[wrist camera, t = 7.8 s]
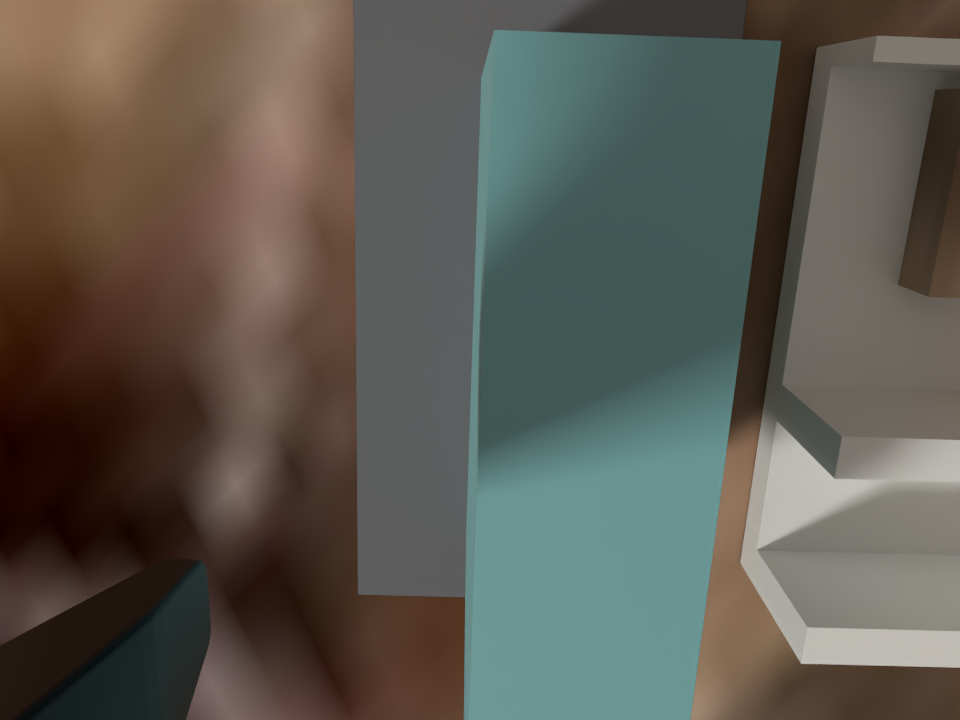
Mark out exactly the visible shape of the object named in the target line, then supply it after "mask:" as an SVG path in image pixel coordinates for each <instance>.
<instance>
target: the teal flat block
mask: <svg viewBox="0 0 960 720" xmlns="http://www.w3.org/2000/svg"><path fill="white" fill-rule="evenodd" d="M780 47H781V41H771V40H745V39H719V38H693V37H667V36H641V35H615V34H589V33H563V32H537V31H511V30H494V33H493V36H492V40H491V44H490V47H489V51H488V55H487V58H486V62H485V66H484V69H483V73H482V77H481V102H480V132H479V162H478V192H477V223H476V253H475V283H474V313H473V343H472V373H471V403H470V433H469V463H468V493H467V523H466V586H465V671H464V720H690V719H691V712H692V704H693V697H694V689H695V682H696V674H697V667H698V659H699V652H700V644H701V637H702V629H703V622H704V615H705V607H706V600H707V592H708V585H709V577H710V570H711V562H712V555H713V547H714V540H715V532H716V525H717V518H718V510H719V503H720V495H721V488H722V480H723V473H724V465H725V458H726V450H727V443H728V435H729V428H730V421H731V413H732V406H733V398H734V391H735V383H736V376H737V368H738V361H739V353H740V346H741V338H742V331H743V324H744V316H745V309H746V301H747V294H748V286H749V279H750V271H751V264H752V256H753V249H754V241H755V234H756V227H757V219H758V212H759V204H760V197H761V189H762V182H763V174H764V167H765V159H766V152H767V144H768V137H769V130H770V122H771V115H772V107H773V100H774V92H775V85H776V77H777V70H778V62H779V55H780Z"/></svg>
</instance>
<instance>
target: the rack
mask: <svg viewBox="0 0 960 720" xmlns="http://www.w3.org/2000/svg"><path fill="white" fill-rule="evenodd" d="M959 88H960V39H946V38H922V37H898V36H873V37H868V38H862V39H857V40H852V41H847V42H842V43H837V44H832V45H827V46H821V47H817V50H816V57H815V63H814V70H813V77H812V83H811V90H810V97H809V104H808V110H807V117H806V124H805V131H804V137H803V144H802V151H801V157H800V164H799V171H798V178H797V184H796V191H795V198H794V205H793V211H792V218H791V225H790V232H789V238H788V245H787V252H786V258H785V265H784V272H783V279H782V285H781V292H780V299H779V306H778V312H777V319H776V326H775V332H774V339H773V346H772V353H771V359H770V366H769V373H768V380H767V386H766V393H765V400H764V407H763V413H762V420H761V427H760V433H759V440H758V447H757V454H756V460H755V467H754V474H753V481H752V487H751V494H750V501H749V508H748V514H747V521H746V528H745V534H744V541H743V548H742V555H741V561H740V563H741V565H742V566H743V568H744V570H745V571H746V573H747V575H748V576H749V578H750V580H751V581H752V583H753V585H754V586H755V588H756V590H757V591H758V593H759V595H760V596H761V598H762V600H763V601H764V603H765V605H766V606H767V608H768V610H769V611H770V613H771V615H772V616H773V618H774V620H775V621H776V623H777V625H778V626H779V628H780V630H781V631H782V633H783V635H784V636H785V638H786V639H787V641H788V643H789V644H790V646H791V648H792V649H793V651H794V653H795V654H796V656H797V658H798V659H799V661H800V663H801V664H834V665H875V666H915V667H955V668H960V298H942V297H927V296H925V295H922V294H920V293H917V292H915V291H912V290H910V289H907V288H905V287H902V286H900V285H898V282H899V276H900V271H901V266H902V261H903V255H904V250H905V245H906V240H907V235H908V229H909V224H910V219H911V214H912V208H913V203H914V198H915V193H916V187H917V182H918V177H919V172H920V167H921V161H922V156H923V151H924V146H925V140H926V135H927V130H928V125H929V119H930V114H931V109H932V104H933V99H934V93H935V90H941V89H959Z"/></svg>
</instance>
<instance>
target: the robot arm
mask: <svg viewBox="0 0 960 720" xmlns="http://www.w3.org/2000/svg"><path fill="white" fill-rule="evenodd" d="M210 630H211V622H210V608H209V594H208V579H207V570H206V567H205V564H204V563H203V562H202V561H201V560H199V559H184V558H167V559H163V560H161V561H159V562H157V563H155V564H153V565H151V566H150V567H148V568H146V569H144V570H142V571H140V572H138V573H136V574H134V575H133V576H131V577H129V578H127V579H125V580H123V581H121V582H119V583H117V584H116V585H114V586H112V587H110V588H108V589H106V590H104V591H102V592H100V593H99V594H97V595H95V596H93V597H91V598H89V599H87V600H85V601H83V602H82V603H80V604H78V605H76V606H74V607H72V608H70V609H68V610H66V611H64V612H63V613H61V614H59V615H57V616H55V617H53V618H51V619H49V620H47V621H46V622H44V623H42V624H40V625H38V626H36V627H34V628H32V629H30V630H29V631H27V632H25V633H23V634H21V635H19V636H17V637H15V638H13V639H12V640H10V641H8V642H6V643H4V644H2V645H0V720H186V717H187V714H188V711H189V708H190V704H191V701H192V698H193V695H194V691H195V688H196V685H197V682H198V678H199V675H200V672H201V669H202V665H203V662H204V659H205V656H206V652H207V649H208V645H209V640H210Z"/></svg>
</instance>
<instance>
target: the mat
mask: <svg viewBox="0 0 960 720" xmlns="http://www.w3.org/2000/svg"><path fill="white" fill-rule="evenodd" d="M353 5H354V133H355V260H356V387H357V515H358V594H361V595H399V596H437V597H465V586H466V523H467V493H468V463H469V433H470V403H471V373H472V343H473V313H474V283H475V253H476V223H477V192H478V162H479V132H480V102H481V77H482V73H483V69H484V66H485V62H486V58H487V55H488V51H489V47H490V44H491V40H492V36H493V33H494V30H511V31H537V32H563V33H589V34H615V35H641V36H667V37H693V38H719V39H743V31H744V23H745V15H746V7H747V0H353Z"/></svg>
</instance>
